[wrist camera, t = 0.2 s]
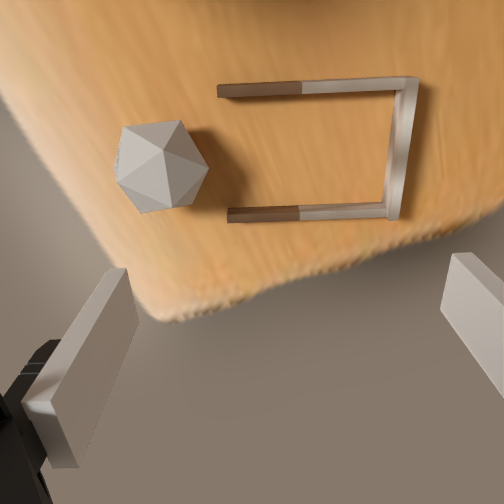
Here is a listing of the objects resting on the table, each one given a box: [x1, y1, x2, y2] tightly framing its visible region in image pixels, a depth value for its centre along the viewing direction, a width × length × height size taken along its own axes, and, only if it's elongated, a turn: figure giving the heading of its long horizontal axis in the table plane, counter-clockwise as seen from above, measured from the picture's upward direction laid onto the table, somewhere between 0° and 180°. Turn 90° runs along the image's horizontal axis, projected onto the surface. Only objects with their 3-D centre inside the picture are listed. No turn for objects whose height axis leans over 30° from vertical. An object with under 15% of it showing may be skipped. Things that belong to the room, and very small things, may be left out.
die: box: [114, 120, 209, 213], centre depth 37 cm, size 8×9×10 cm
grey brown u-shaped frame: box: [217, 76, 420, 223], centre depth 39 cm, size 14×18×3 cm
